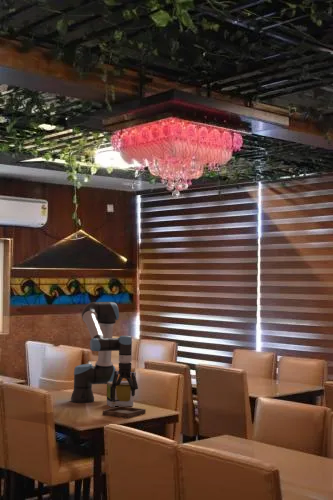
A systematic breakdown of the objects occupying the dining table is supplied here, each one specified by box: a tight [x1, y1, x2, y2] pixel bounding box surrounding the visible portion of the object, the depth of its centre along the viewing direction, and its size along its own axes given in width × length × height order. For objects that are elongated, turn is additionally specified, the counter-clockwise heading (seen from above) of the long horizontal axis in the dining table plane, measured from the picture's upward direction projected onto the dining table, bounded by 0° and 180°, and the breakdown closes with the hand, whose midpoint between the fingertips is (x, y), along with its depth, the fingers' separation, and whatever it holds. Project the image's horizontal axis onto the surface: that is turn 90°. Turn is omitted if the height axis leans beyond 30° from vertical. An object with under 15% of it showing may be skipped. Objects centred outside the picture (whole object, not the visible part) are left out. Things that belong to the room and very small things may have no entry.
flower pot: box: [116, 385, 131, 402], centre depth 391 cm, size 9×9×9 cm
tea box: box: [106, 380, 134, 408], centre depth 420 cm, size 15×10×15 cm, turn 108°
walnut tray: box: [102, 406, 147, 419], centre depth 391 cm, size 18×18×2 cm
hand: (124, 400), depth 391 cm, fingers closed on flower pot, 10 cm apart
